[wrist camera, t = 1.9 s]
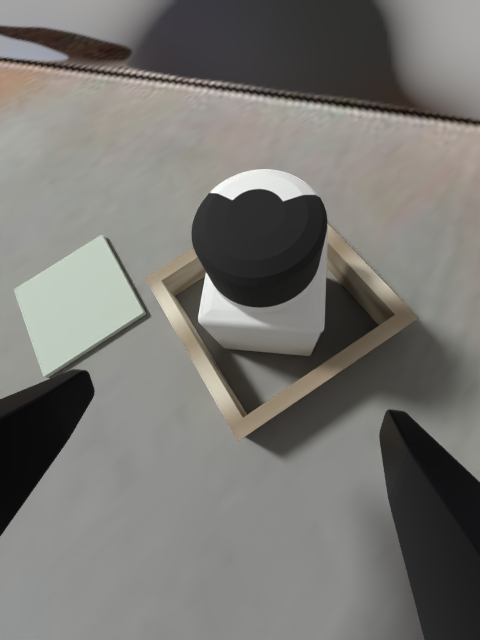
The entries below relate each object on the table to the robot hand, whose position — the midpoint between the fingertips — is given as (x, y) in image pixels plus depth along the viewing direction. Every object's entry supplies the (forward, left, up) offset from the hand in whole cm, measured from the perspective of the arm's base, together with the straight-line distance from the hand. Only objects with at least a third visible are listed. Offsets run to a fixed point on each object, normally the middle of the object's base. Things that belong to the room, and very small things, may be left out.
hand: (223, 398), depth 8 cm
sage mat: (+17, +9, -13) cm, 23 cm away
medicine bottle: (+6, -5, -13) cm, 15 cm away
